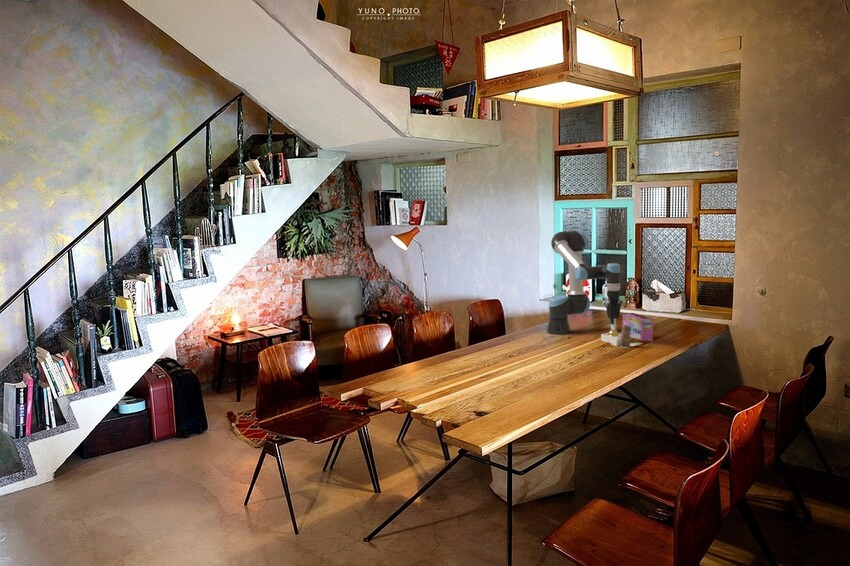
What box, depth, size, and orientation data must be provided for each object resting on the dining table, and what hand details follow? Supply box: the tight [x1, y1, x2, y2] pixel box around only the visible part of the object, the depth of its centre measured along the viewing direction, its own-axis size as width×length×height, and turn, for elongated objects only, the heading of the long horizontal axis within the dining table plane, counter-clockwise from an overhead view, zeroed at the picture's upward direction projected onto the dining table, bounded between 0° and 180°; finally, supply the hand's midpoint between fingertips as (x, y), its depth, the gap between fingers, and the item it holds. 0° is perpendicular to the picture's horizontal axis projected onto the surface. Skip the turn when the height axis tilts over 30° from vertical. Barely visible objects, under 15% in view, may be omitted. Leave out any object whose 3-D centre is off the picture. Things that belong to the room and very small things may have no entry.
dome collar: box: [600, 332, 622, 344], centre depth 386 cm, size 10×10×4 cm
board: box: [620, 341, 643, 349], centre depth 382 cm, size 22×16×1 cm
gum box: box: [621, 312, 654, 342], centre depth 397 cm, size 24×8×14 cm, turn 13°
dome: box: [607, 329, 620, 337], centre depth 386 cm, size 7×7×6 cm
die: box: [610, 337, 622, 347], centre depth 377 cm, size 4×4×4 cm
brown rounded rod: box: [621, 325, 631, 348], centre depth 371 cm, size 4×4×12 cm
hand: (613, 329), depth 385 cm, fingers closed
